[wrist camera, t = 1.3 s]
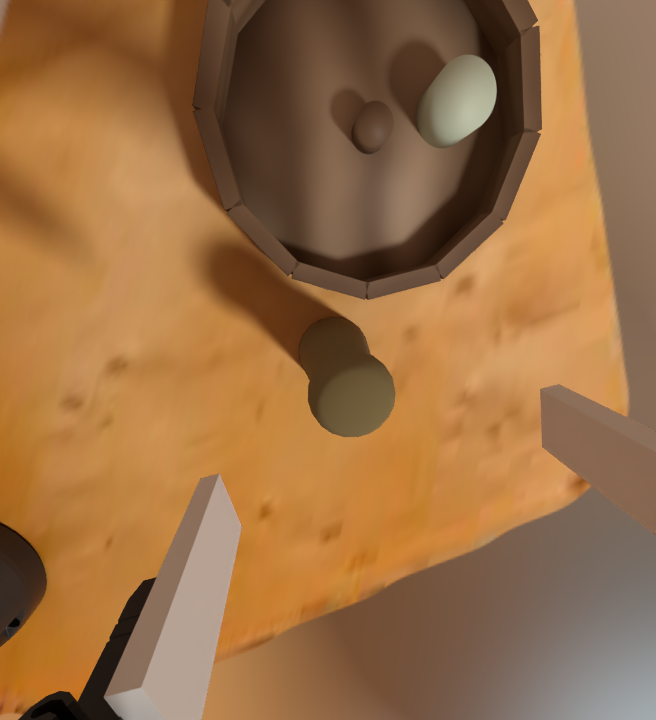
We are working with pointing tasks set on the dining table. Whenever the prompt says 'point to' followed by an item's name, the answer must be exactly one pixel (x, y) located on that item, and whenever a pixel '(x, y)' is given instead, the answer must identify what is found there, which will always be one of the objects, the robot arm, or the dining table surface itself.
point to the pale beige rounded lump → (456, 101)
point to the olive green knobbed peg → (345, 379)
